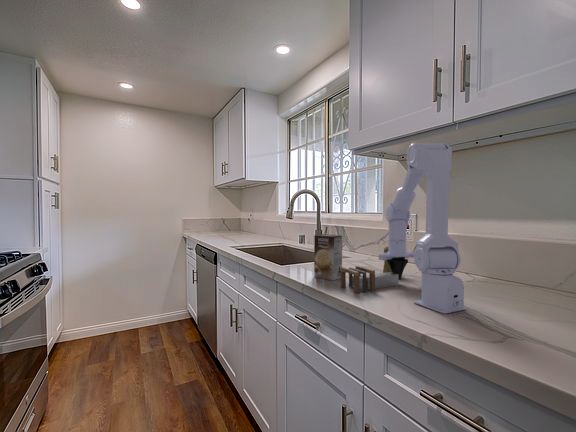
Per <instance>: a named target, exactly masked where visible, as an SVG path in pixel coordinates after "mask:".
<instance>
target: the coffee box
mask: <svg viewBox="0 0 576 432" xmlns="http://www.w3.org/2000/svg"><path fill="white" fill-rule="evenodd" d="M313 237H314V241H313V243H314V245H313V246H314V248H313V251H314V254H313V258H314V259H313V260H314V261H313V265H314V266H313V272H314V273H313V277H314V278H319V279H324V280H329V281H337V280H340V268H341V267H343V235H339V234H337V235H335V234H325V233H323V234H322V233H321V234H316V235H315V234H314V236H313Z"/></svg>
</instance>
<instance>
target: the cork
mask: <svg viewBox="0 0 576 432" xmlns="http://www.w3.org/2000/svg"><path fill="white" fill-rule="evenodd" d="M387 252H389V246H385V247H384V248H383V253H387ZM386 272H392V270H391V268H390V265H389V264H388V262H387V260H383V269H382V273H386Z"/></svg>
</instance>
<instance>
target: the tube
mask: <svg viewBox="0 0 576 432" xmlns="http://www.w3.org/2000/svg"><path fill="white" fill-rule="evenodd" d="M399 281H400V280H399V274H396V273H393V272H386V273H383V272H378V273H377V272H376V273H375V290H376V289H382V288H389V287H395V286H396V287H397V286H399ZM351 288H352V289H354V275H352V287H351ZM367 290H368V291H369V273H366V291H367ZM361 291H363V274H361V275H359V292H361Z"/></svg>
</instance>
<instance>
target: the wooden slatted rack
mask: <svg viewBox="0 0 576 432" xmlns="http://www.w3.org/2000/svg"><path fill="white" fill-rule="evenodd" d="M346 274H348V287H351V288H352V276H354V288H353V293H354V294H355V295H357V294H360V291H359V275H363V290H362V293H367V290H366V274H369V290H368V291H370V292H376V289H375V274H376V270H374V269H371V268H367V267H365V266H364V267H363V266H360V265H355V268H354V267H345V266H342V267H341V268H340V278H339V281H340V285H339V286H340V288H342V289H343V288H346V284H347V283H346V282H347V281H346V280H347V276H346Z"/></svg>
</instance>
